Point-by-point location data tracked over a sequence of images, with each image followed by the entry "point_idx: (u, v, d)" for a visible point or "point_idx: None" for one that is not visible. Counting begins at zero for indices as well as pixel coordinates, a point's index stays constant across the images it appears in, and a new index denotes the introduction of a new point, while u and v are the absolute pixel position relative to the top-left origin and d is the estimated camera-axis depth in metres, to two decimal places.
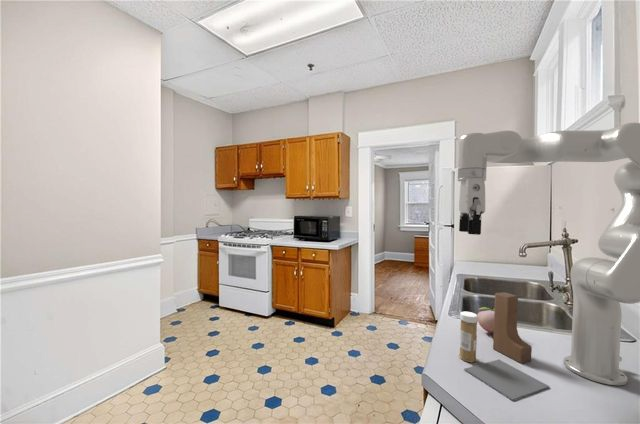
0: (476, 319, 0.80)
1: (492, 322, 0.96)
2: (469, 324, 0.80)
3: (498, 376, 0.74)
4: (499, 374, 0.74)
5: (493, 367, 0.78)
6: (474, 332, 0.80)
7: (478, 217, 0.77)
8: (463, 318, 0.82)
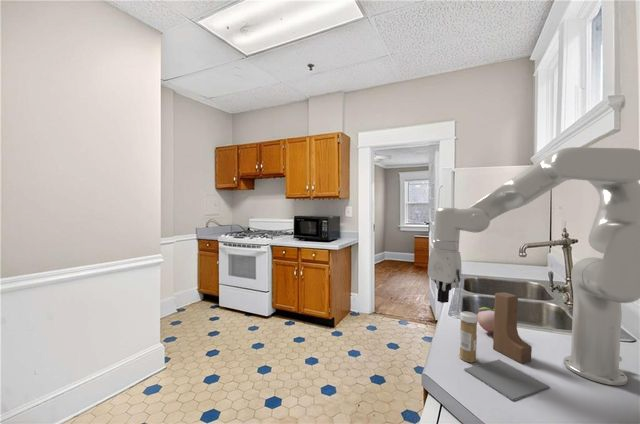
0: (476, 319, 0.80)
1: (492, 322, 0.96)
2: (469, 324, 0.80)
3: (498, 376, 0.74)
4: (499, 374, 0.74)
5: (493, 367, 0.78)
6: (474, 332, 0.80)
7: None
8: (463, 318, 0.82)
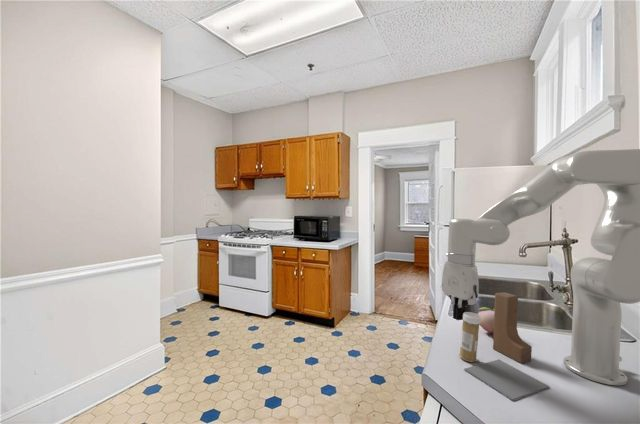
0: (479, 321, 0.79)
1: (492, 322, 0.96)
2: (472, 325, 0.80)
3: (498, 376, 0.74)
4: (499, 374, 0.74)
5: (493, 367, 0.78)
6: (476, 333, 0.80)
7: None
8: (465, 319, 0.81)
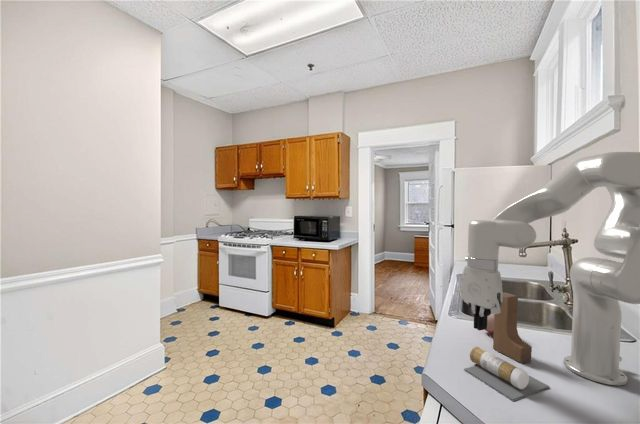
0: None
1: (492, 322, 0.96)
2: None
3: None
4: None
5: None
6: None
7: None
8: (513, 379, 0.68)
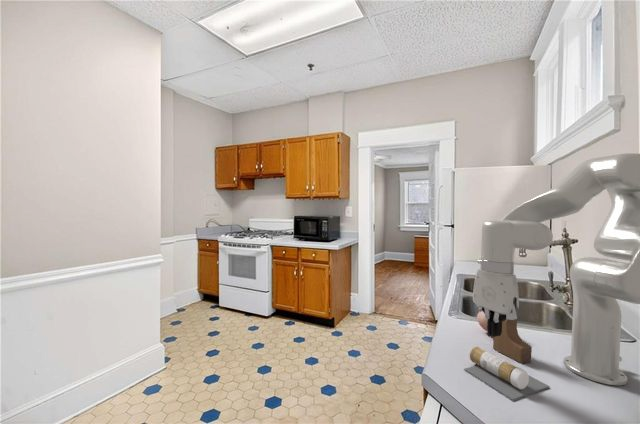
0: None
1: None
2: (509, 382, 0.70)
3: None
4: None
5: None
6: None
7: None
8: (513, 379, 0.68)
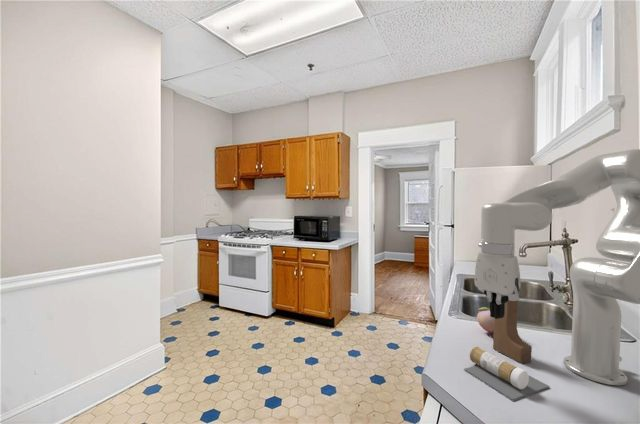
0: None
1: (492, 322, 0.96)
2: (509, 382, 0.70)
3: None
4: None
5: None
6: None
7: None
8: (513, 379, 0.68)
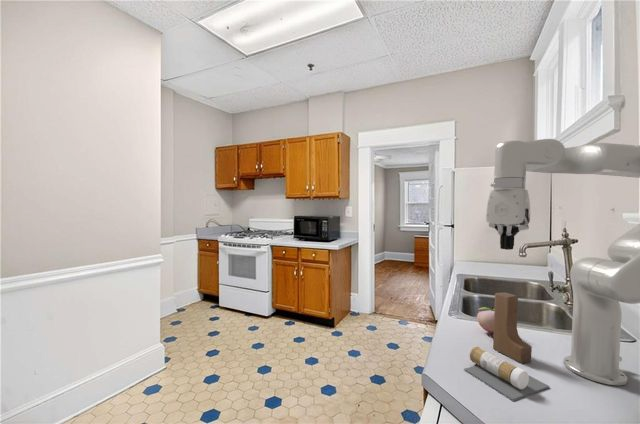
0: None
1: (492, 322, 0.96)
2: (509, 382, 0.70)
3: None
4: None
5: None
6: None
7: None
8: (513, 379, 0.68)
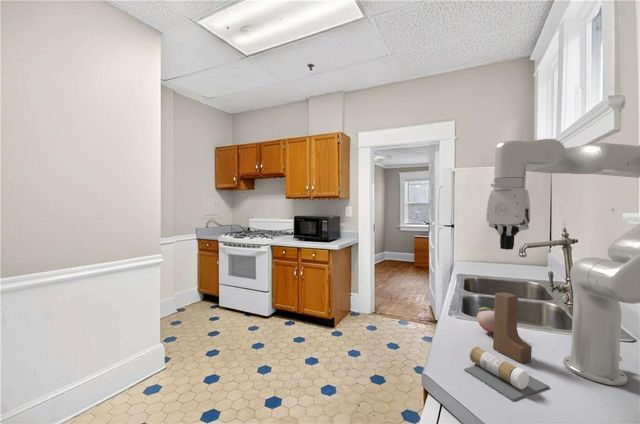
0: None
1: (492, 322, 0.96)
2: (509, 382, 0.70)
3: None
4: None
5: None
6: None
7: None
8: (513, 379, 0.68)
